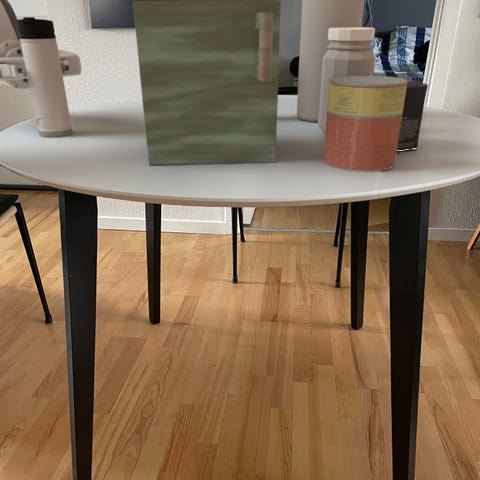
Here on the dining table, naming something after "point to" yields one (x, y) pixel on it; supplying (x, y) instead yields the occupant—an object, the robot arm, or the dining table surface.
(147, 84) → the door
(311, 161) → the dining table surface
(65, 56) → the robot arm
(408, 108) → the small box
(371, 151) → the canned food
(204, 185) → the dining table surface
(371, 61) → the jar
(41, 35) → the travel mug
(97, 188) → the dining table surface
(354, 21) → the cylinder vase
